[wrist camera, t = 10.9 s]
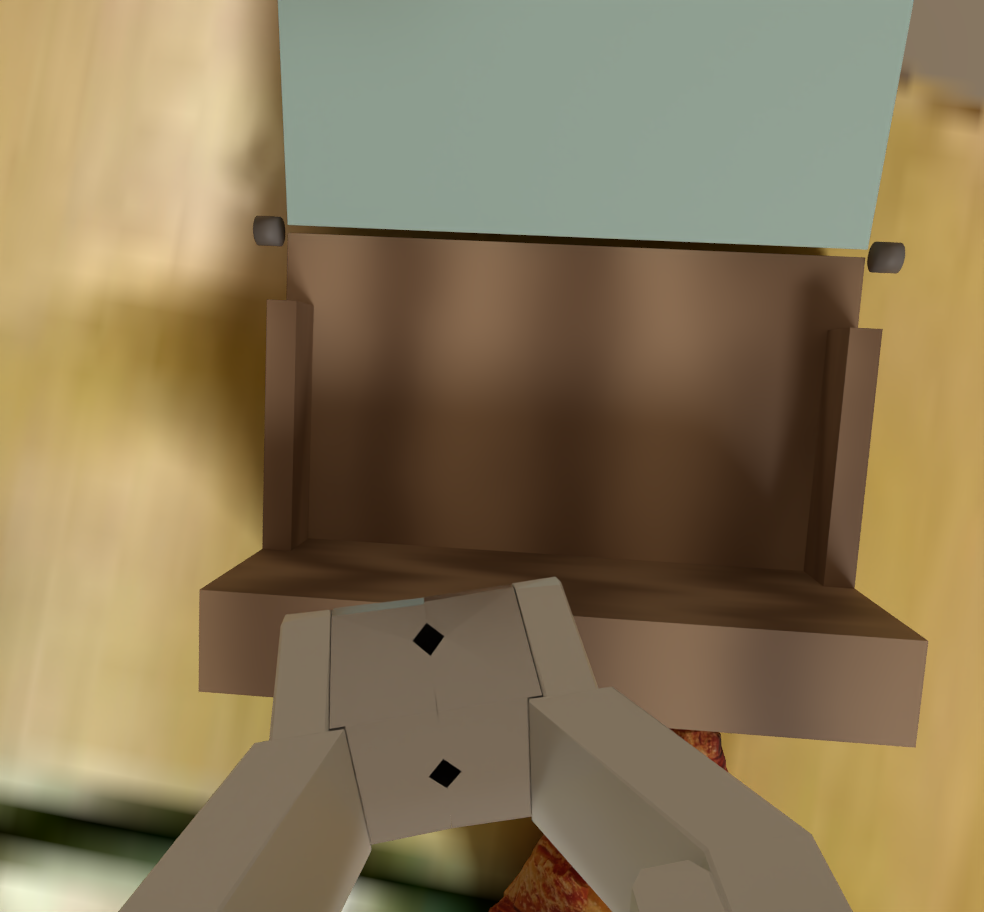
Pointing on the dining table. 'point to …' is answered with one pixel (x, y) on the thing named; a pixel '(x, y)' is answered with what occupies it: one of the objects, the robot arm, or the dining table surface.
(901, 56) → the panel
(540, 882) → the croissant
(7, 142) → the dining table surface
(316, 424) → the brown open box
